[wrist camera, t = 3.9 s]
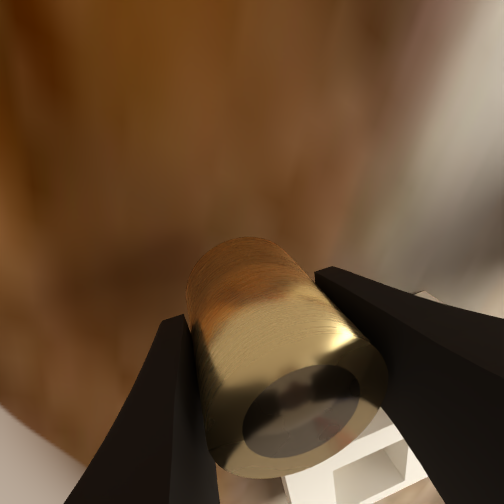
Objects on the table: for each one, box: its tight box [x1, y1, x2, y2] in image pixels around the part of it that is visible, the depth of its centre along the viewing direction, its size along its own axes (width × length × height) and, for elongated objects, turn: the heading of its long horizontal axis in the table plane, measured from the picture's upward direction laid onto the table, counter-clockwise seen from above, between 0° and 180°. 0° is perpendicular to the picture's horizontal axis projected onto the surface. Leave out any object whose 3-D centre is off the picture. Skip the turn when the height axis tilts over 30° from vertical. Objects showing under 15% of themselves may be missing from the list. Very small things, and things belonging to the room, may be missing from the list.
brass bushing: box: [186, 237, 388, 479], centre depth 8 cm, size 4×4×5 cm
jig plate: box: [281, 291, 444, 504], centre depth 20 cm, size 12×16×3 cm
